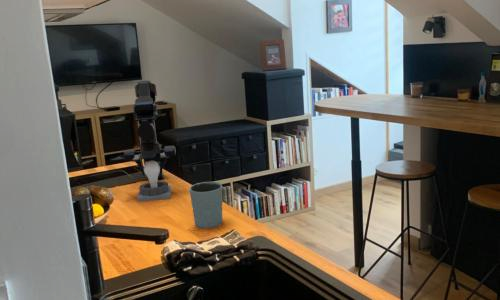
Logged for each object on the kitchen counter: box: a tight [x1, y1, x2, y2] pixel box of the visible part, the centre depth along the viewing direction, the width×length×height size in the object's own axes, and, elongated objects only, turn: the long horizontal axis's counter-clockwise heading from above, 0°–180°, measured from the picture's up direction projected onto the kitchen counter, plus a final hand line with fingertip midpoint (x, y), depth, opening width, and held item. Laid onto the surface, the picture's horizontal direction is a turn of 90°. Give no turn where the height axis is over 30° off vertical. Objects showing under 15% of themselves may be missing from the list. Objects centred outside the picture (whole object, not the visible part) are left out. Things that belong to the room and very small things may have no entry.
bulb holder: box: [136, 180, 173, 203], centre depth 180 cm, size 12×12×4 cm
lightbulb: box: [143, 161, 160, 188], centre depth 179 cm, size 6×6×11 cm
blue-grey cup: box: [189, 181, 223, 229], centre depth 146 cm, size 10×10×12 cm
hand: (152, 175), depth 179 cm, fingers closed on lightbulb, 6 cm apart
